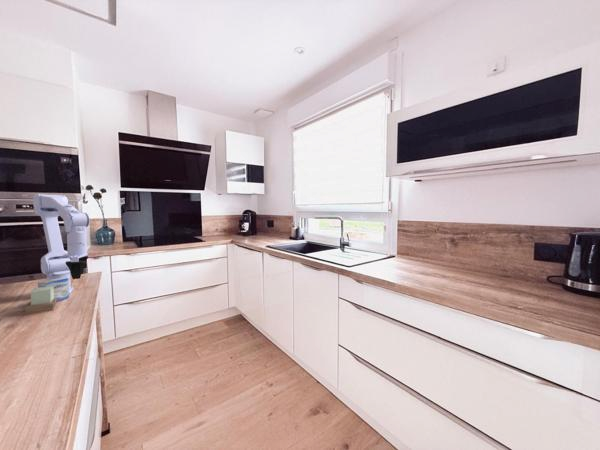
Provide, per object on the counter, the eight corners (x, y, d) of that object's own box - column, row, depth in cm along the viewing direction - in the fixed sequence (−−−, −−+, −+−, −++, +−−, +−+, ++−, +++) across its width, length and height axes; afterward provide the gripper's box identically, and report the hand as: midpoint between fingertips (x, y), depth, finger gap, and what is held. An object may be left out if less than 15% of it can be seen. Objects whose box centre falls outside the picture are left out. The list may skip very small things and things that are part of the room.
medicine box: (46, 305, 94) (46, 283, 94) (38, 303, 95) (37, 282, 95) (69, 297, 102) (69, 277, 102) (61, 296, 103) (60, 276, 103)
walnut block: (29, 309, 91) (29, 301, 91) (55, 305, 96) (55, 297, 95) (25, 315, 86) (24, 307, 86) (53, 311, 90) (52, 303, 90)
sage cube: (35, 301, 91) (34, 288, 91) (53, 298, 94) (53, 286, 94) (31, 305, 87) (30, 291, 87) (50, 302, 90) (50, 289, 90)
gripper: (66, 241, 101) (67, 273, 101) (59, 246, 89) (60, 282, 90) (89, 240, 105) (89, 271, 106) (85, 245, 93) (85, 279, 94)
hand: (77, 276), depth 98 cm, fingers open, 7 cm apart
